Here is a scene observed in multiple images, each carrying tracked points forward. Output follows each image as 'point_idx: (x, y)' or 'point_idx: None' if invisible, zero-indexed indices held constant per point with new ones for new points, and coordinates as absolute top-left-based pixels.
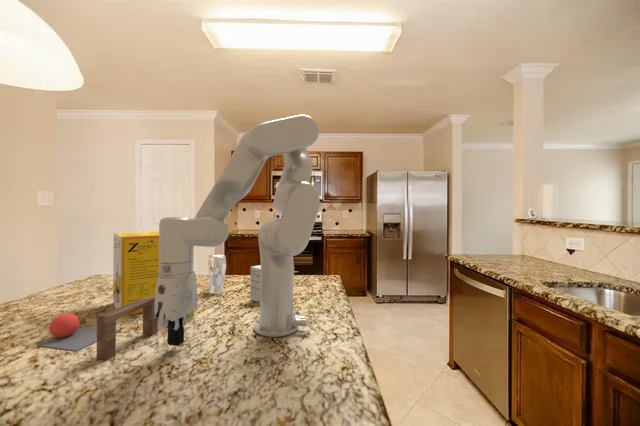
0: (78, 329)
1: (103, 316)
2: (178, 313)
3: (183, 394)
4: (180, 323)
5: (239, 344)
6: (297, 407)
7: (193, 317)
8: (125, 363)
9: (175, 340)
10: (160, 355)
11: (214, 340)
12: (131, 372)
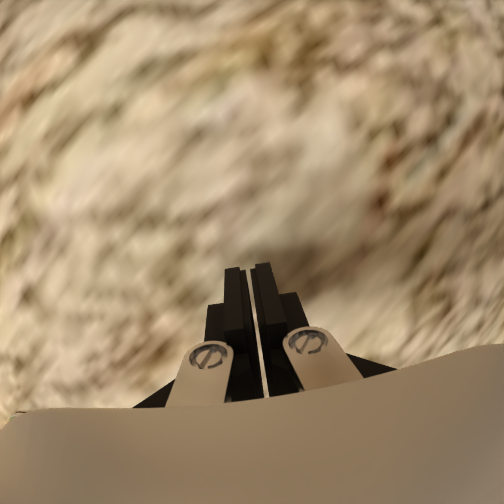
0: None
1: None
2: (476, 407)
3: (488, 9)
4: (238, 376)
5: (58, 11)
6: None
7: (15, 414)
8: (401, 360)
9: (286, 297)
10: (321, 305)
11: (64, 170)
12: (451, 287)
